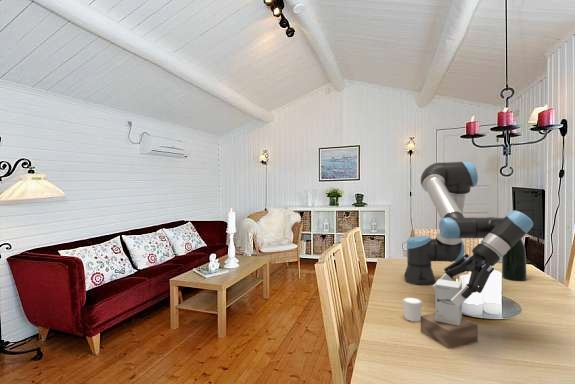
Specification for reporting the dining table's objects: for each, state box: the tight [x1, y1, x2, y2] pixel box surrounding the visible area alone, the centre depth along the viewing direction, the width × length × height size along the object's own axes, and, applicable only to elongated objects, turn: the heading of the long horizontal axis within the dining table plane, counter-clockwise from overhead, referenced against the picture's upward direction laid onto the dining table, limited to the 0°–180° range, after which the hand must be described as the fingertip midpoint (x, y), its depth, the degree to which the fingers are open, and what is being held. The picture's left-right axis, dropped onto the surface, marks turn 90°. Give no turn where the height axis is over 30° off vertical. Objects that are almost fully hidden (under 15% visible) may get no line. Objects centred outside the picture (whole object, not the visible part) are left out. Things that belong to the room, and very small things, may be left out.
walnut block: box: [420, 312, 479, 350], centre depth 104 cm, size 12×12×6 cm
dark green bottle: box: [501, 238, 527, 282], centre depth 164 cm, size 10×10×33 cm
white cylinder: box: [402, 297, 423, 322], centre depth 118 cm, size 7×7×7 cm
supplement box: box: [434, 278, 463, 326], centre depth 103 cm, size 7×7×13 cm
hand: (444, 295), depth 103 cm, fingers open, 13 cm apart
